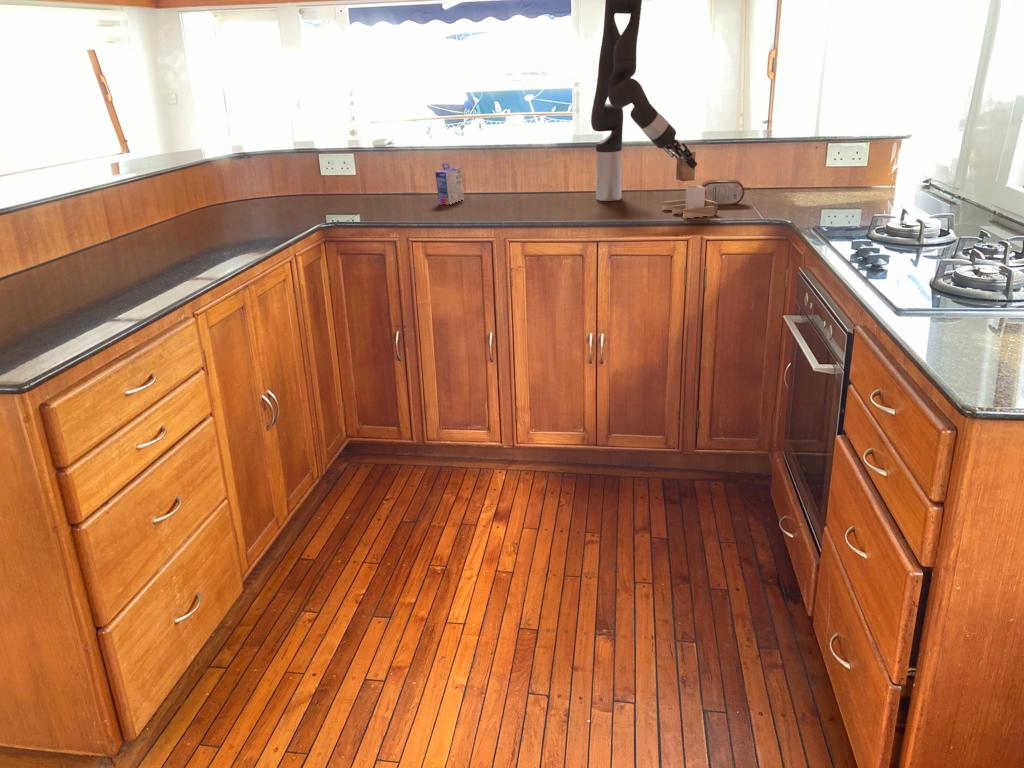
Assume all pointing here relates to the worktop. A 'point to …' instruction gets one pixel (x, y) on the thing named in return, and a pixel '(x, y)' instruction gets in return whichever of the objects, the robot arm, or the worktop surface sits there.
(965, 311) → the worktop surface
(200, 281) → the worktop surface
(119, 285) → the worktop surface
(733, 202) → the tin
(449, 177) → the ink cartridge box
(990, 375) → the worktop surface
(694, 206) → the white block
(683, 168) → the tan block
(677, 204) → the rack
